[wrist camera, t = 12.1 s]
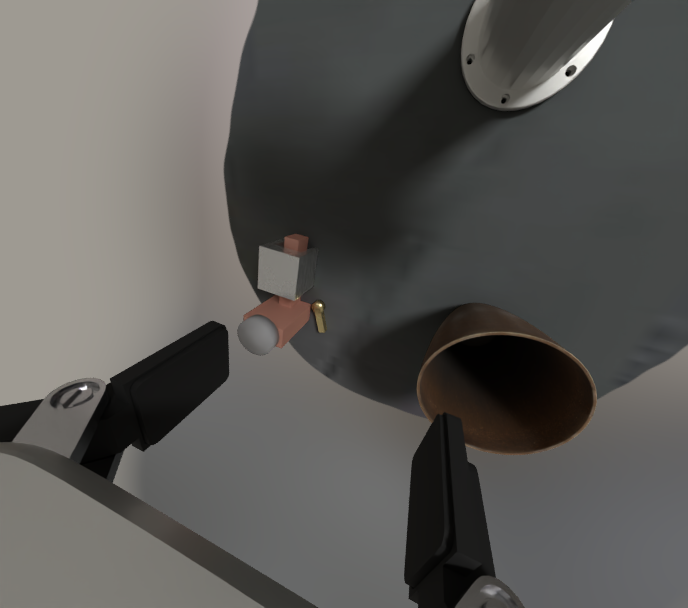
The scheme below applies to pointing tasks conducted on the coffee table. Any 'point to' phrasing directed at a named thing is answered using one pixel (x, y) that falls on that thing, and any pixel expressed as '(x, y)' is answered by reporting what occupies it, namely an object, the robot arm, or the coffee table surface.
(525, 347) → the plant pot
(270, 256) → the block
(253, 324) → the brown mallet
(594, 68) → the coffee table surface
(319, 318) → the brass key
